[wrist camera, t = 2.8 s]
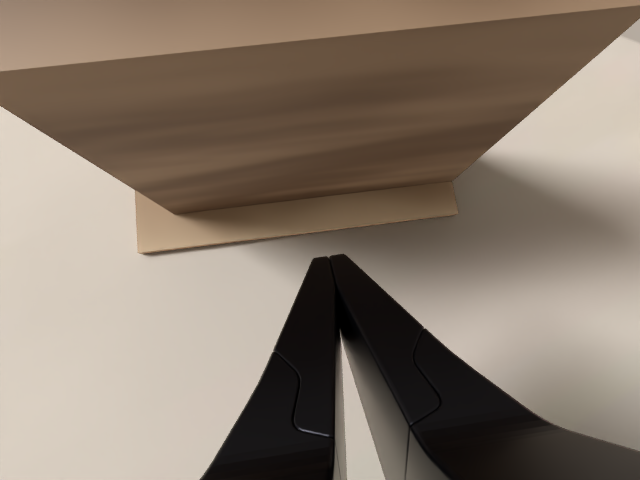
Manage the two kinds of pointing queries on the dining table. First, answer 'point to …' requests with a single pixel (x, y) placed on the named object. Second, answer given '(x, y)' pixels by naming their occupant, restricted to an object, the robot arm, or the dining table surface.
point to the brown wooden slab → (289, 87)
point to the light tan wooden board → (288, 217)
